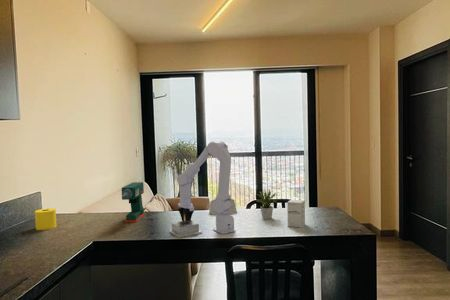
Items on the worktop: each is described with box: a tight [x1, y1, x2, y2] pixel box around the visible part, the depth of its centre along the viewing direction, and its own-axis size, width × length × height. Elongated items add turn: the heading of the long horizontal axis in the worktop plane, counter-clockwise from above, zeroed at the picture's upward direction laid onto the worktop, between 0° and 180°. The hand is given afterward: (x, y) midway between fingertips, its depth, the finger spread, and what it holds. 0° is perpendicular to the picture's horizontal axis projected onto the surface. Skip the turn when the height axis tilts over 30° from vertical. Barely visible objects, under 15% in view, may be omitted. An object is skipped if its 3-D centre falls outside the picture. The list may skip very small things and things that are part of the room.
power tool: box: [121, 181, 146, 223], centre depth 197 cm, size 32×7×20 cm, turn 179°
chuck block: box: [168, 219, 203, 238], centre depth 170 cm, size 12×12×4 cm
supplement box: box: [287, 199, 306, 228], centre depth 177 cm, size 7×7×13 cm
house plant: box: [255, 188, 280, 220], centre depth 193 cm, size 14×14×16 cm
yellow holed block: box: [34, 207, 57, 231], centre depth 189 cm, size 10×10×9 cm
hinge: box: [209, 198, 238, 215], centre depth 212 cm, size 17×5×10 cm, turn 98°
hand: (186, 222), depth 182 cm, fingers open, 4 cm apart
